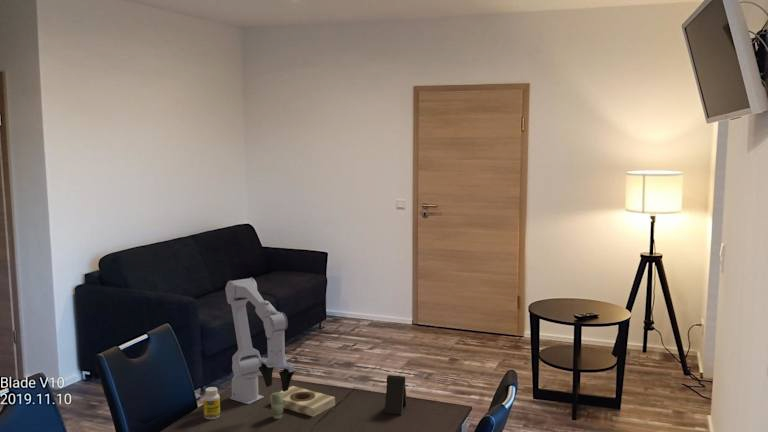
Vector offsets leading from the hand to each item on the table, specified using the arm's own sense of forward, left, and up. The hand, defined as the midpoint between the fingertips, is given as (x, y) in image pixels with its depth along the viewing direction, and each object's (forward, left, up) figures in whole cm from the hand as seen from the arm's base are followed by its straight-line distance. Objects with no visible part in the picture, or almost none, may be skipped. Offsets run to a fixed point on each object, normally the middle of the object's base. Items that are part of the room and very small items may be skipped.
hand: (277, 388), depth 227 cm
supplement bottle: (-19, -12, -10) cm, 25 cm away
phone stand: (+30, +28, -10) cm, 42 cm away
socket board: (0, +13, -10) cm, 16 cm away
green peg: (0, 0, -10) cm, 10 cm away
